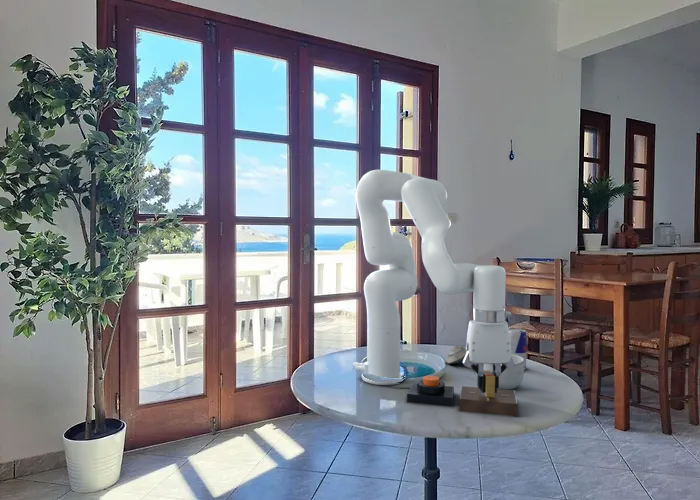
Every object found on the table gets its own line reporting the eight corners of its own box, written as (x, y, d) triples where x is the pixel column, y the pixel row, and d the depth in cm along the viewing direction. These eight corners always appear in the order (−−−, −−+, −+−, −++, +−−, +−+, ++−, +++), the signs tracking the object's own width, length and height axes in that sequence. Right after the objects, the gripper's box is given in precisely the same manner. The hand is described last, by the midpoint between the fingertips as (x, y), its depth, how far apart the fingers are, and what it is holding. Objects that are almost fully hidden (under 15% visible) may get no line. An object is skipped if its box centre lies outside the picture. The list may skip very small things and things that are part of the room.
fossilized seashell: (460, 352, 167) (463, 335, 164) (485, 369, 160) (490, 351, 157) (439, 364, 161) (442, 346, 158) (465, 381, 154) (469, 363, 151)
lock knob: (481, 390, 124) (481, 369, 124) (489, 390, 124) (489, 369, 124) (486, 397, 119) (486, 375, 119) (494, 397, 119) (495, 375, 119)
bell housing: (406, 402, 124) (407, 386, 124) (412, 391, 133) (412, 376, 133) (451, 406, 121) (451, 390, 121) (453, 394, 130) (454, 379, 130)
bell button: (422, 386, 126) (422, 379, 126) (424, 381, 130) (424, 375, 129) (438, 387, 125) (438, 380, 125) (439, 382, 128) (439, 376, 128)
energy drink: (529, 370, 152) (529, 332, 152) (512, 371, 152) (512, 332, 152) (521, 365, 158) (522, 328, 157) (505, 366, 157) (505, 328, 157)
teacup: (526, 393, 131) (526, 363, 131) (483, 391, 133) (484, 361, 133) (519, 378, 145) (519, 351, 144) (480, 376, 147) (481, 349, 146)
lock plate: (459, 411, 118) (459, 398, 118) (461, 397, 128) (461, 385, 128) (516, 416, 115) (517, 403, 115) (514, 402, 125) (514, 389, 125)
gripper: (516, 313, 124) (515, 386, 125) (453, 313, 125) (452, 386, 125) (527, 319, 117) (525, 396, 118) (459, 319, 117) (458, 396, 118)
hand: (487, 390), depth 121 cm, fingers closed on lock knob, 2 cm apart
